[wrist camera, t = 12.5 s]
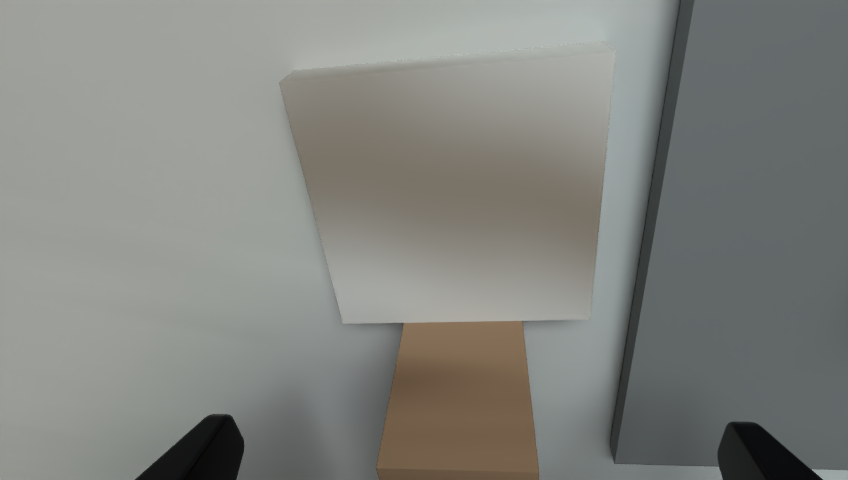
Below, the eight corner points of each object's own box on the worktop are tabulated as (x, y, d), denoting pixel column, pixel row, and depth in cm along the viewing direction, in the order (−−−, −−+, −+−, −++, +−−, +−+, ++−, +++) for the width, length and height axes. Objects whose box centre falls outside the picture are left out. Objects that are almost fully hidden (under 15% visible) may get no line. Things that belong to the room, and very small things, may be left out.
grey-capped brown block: (570, 441, 13) (603, 624, 9) (385, 438, 13) (354, 606, 10) (604, 40, 7) (707, 131, 4) (295, 70, 8) (165, 167, 5)
